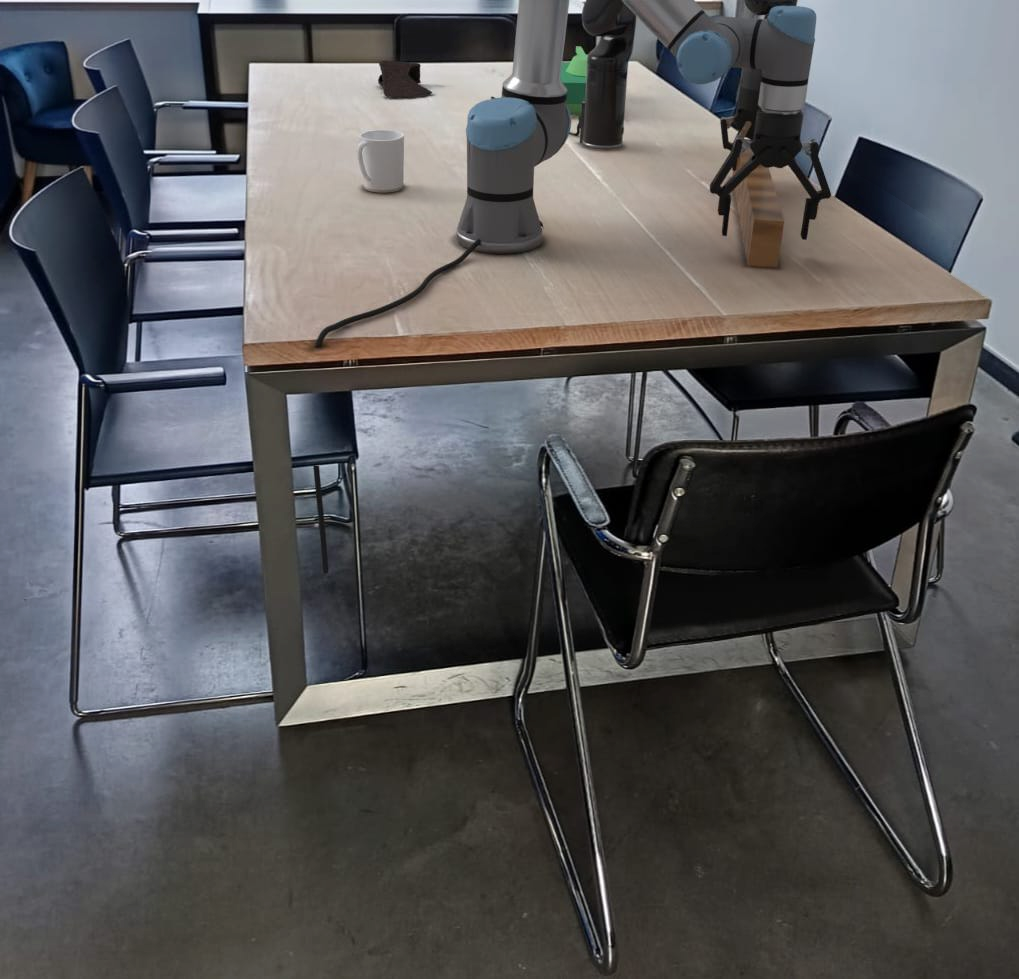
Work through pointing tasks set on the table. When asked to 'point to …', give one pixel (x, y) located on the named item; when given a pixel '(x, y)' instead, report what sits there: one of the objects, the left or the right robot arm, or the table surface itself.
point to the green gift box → (575, 81)
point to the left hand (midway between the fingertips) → (763, 235)
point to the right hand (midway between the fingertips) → (747, 170)
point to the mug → (381, 160)
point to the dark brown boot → (401, 79)
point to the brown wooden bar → (759, 215)
